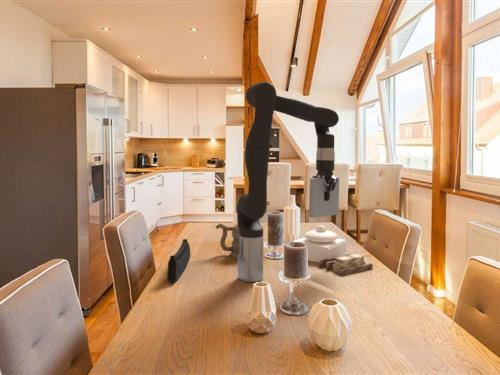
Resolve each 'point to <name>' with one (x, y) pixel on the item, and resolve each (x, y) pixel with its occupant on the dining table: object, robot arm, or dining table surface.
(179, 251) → the black curved panel
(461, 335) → the dining table surface
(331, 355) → the dining table surface
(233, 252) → the tankard
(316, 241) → the butter dish
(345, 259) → the offcut upper
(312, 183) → the grey board
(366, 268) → the walnut rack
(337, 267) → the offcut lower
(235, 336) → the dining table surface
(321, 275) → the dining table surface
